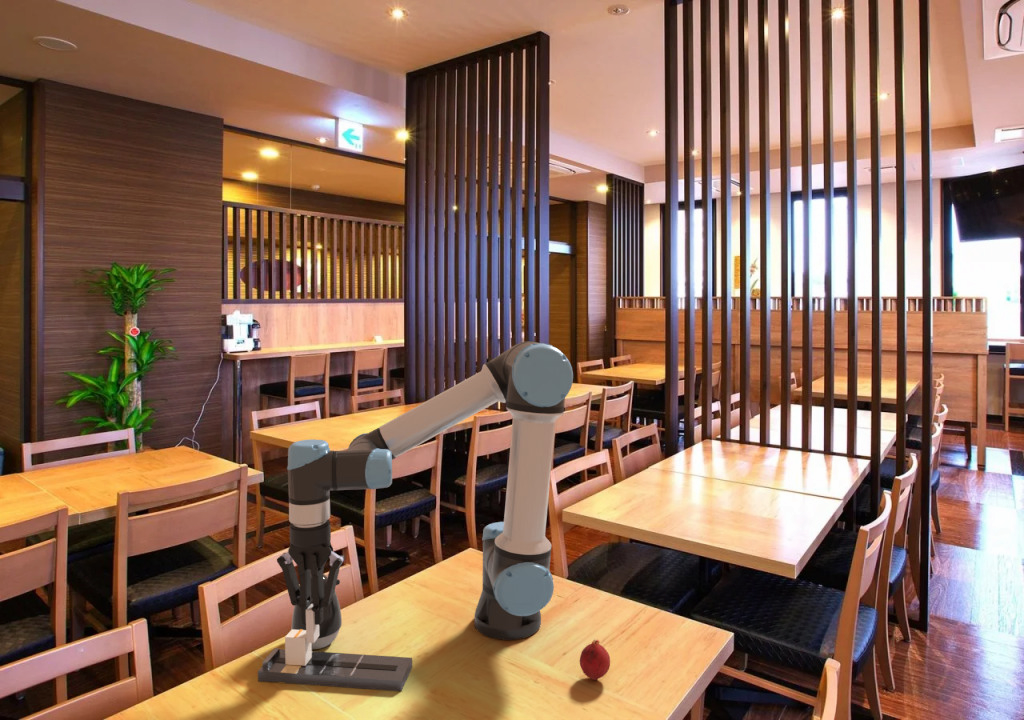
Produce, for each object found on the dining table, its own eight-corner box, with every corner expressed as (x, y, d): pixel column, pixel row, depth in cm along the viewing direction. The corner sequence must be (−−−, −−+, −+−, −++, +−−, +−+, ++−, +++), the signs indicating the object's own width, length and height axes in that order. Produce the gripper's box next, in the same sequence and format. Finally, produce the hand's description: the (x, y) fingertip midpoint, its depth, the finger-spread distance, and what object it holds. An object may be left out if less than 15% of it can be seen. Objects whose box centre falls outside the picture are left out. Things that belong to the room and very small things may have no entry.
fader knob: (311, 657, 126) (311, 629, 126) (305, 665, 123) (304, 637, 123) (292, 656, 126) (291, 628, 126) (285, 664, 123) (285, 636, 123)
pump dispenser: (328, 658, 130) (327, 586, 128) (282, 652, 132) (281, 581, 130) (351, 633, 140) (350, 566, 138) (307, 628, 142) (306, 562, 140)
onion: (601, 692, 119) (602, 651, 119) (574, 682, 122) (575, 642, 122) (614, 677, 124) (615, 637, 124) (587, 668, 127) (588, 629, 127)
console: (412, 667, 127) (412, 653, 127) (401, 691, 119) (401, 675, 119) (277, 658, 129) (277, 644, 129) (258, 681, 122) (257, 666, 121)
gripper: (349, 515, 125) (352, 631, 127) (286, 513, 127) (289, 627, 129) (335, 529, 118) (338, 651, 120) (268, 526, 119) (271, 647, 121)
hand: (313, 639), depth 124 cm, fingers closed
